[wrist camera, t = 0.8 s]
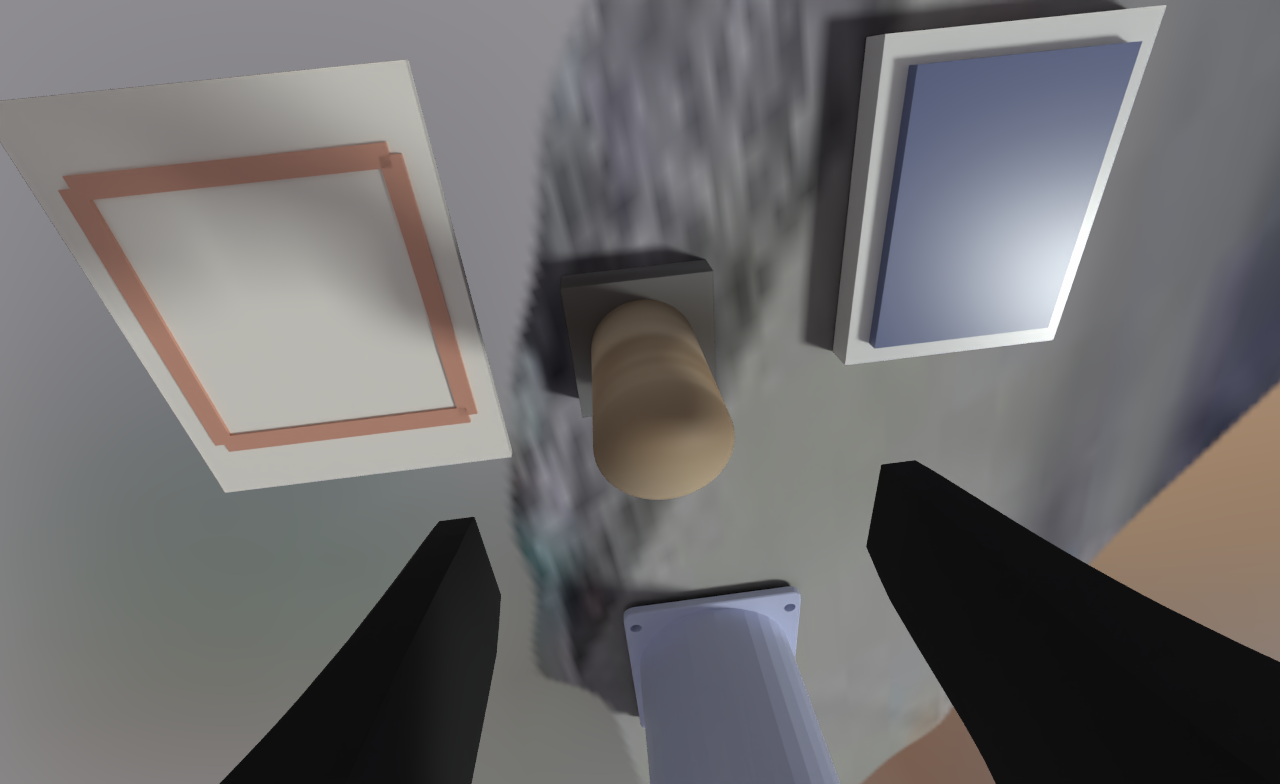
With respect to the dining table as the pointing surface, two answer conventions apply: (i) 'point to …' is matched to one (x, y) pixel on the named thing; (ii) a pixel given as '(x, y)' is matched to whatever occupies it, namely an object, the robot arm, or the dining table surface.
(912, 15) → the dining table surface
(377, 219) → the sheet
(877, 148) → the ink pad
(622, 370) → the stamp
